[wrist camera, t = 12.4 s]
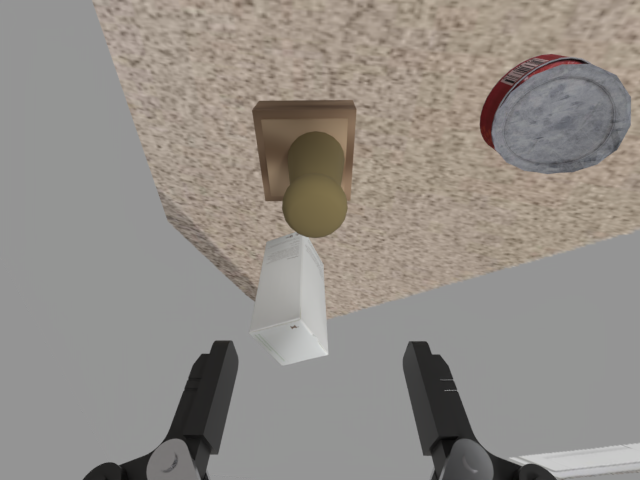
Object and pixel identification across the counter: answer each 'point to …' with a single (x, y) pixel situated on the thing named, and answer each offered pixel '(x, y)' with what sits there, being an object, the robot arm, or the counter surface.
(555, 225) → the counter surface
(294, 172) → the olive knobbed peg
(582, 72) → the canned food
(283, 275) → the skincare box
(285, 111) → the base
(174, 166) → the counter surface
